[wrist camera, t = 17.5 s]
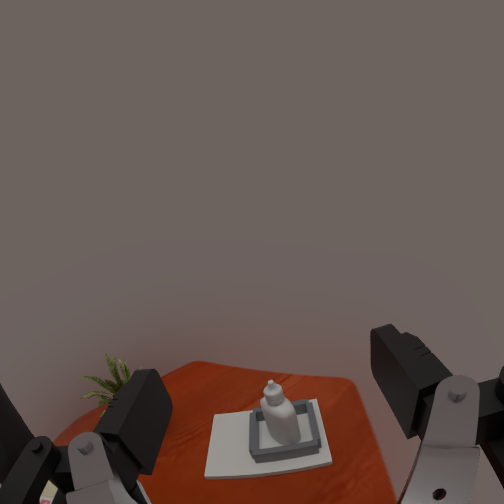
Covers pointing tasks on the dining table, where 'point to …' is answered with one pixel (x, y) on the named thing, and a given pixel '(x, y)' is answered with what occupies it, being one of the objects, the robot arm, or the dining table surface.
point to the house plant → (111, 385)
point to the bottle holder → (265, 445)
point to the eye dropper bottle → (280, 415)
